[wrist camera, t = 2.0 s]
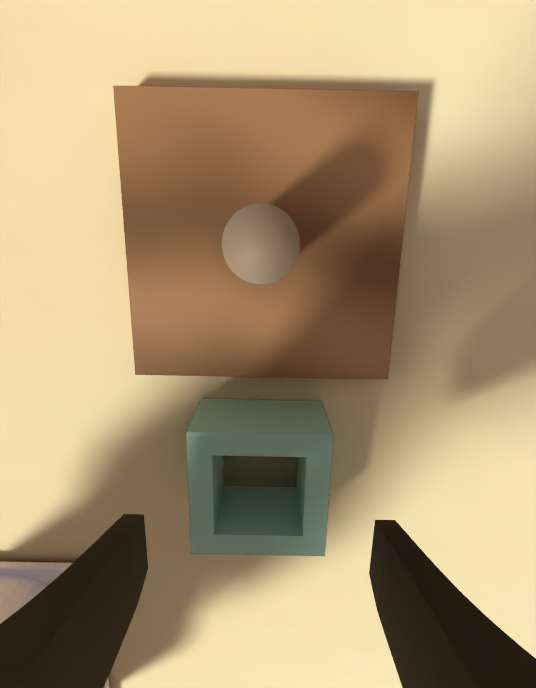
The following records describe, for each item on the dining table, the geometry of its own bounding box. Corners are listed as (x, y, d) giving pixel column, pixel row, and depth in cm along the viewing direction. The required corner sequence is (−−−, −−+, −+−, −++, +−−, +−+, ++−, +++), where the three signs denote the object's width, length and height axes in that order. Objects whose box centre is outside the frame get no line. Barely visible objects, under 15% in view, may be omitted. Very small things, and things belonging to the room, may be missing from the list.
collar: (315, 503, 17) (324, 556, 14) (204, 501, 17) (191, 553, 14) (321, 401, 16) (333, 434, 13) (201, 398, 16) (186, 432, 13)
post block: (380, 371, 15) (430, 426, 11) (143, 366, 15) (86, 420, 11) (407, 103, 13) (490, 14, 8) (125, 97, 13) (37, 5, 8)
